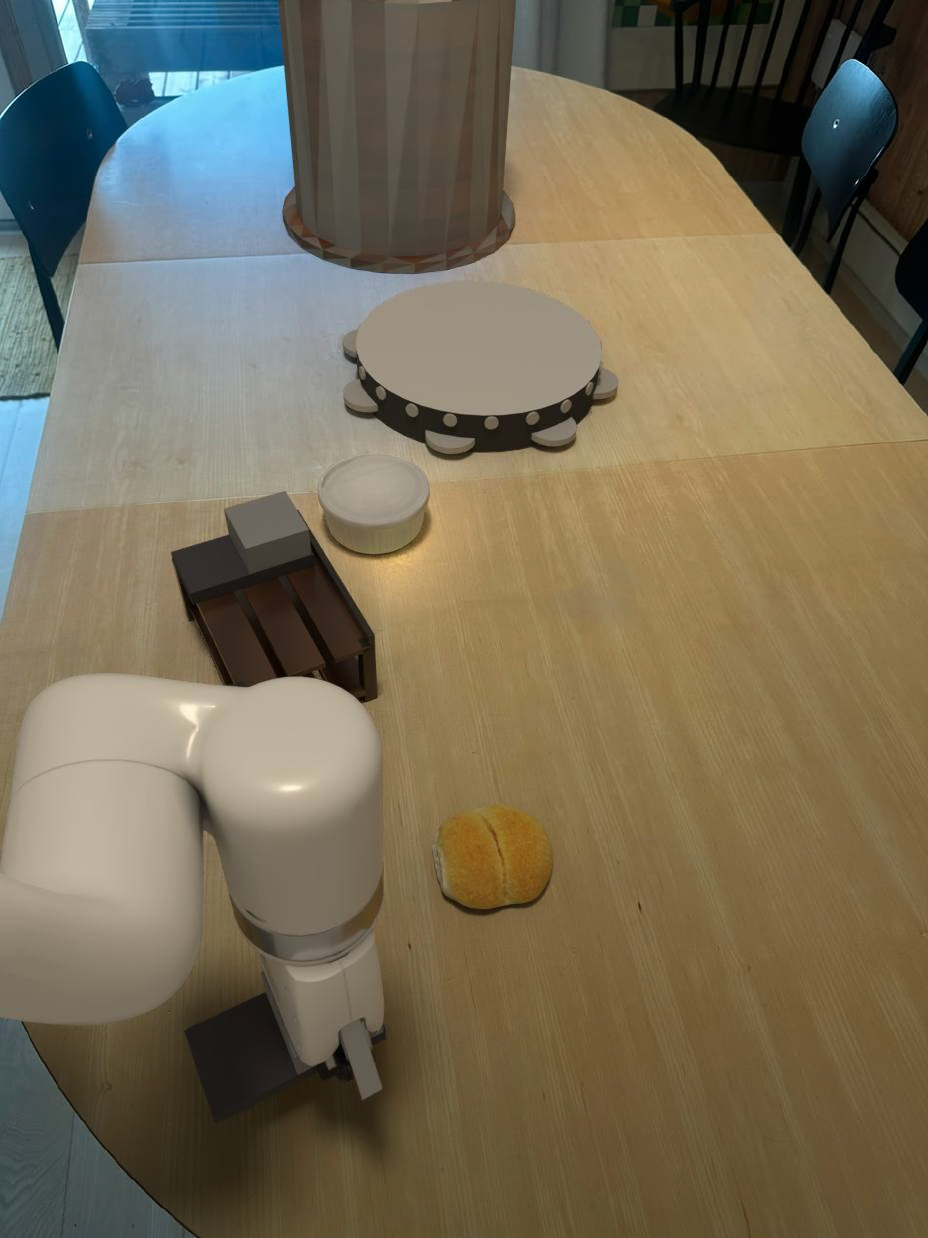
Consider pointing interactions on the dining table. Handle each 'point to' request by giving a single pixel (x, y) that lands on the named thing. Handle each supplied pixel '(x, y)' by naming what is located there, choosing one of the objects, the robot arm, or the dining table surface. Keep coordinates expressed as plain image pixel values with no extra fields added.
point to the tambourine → (477, 367)
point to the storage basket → (398, 130)
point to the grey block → (247, 549)
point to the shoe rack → (289, 630)
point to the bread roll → (492, 857)
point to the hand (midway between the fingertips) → (324, 1017)
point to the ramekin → (374, 501)
